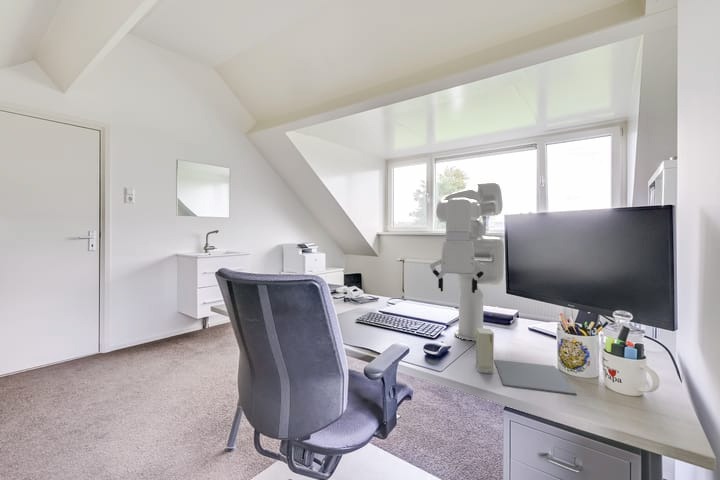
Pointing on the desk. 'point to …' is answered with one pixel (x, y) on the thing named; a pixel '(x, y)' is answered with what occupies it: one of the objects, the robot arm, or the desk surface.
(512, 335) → the desk surface
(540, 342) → the desk surface
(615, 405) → the desk surface
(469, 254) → the robot arm
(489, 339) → the skincare box
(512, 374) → the desk mat
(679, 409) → the desk surface
